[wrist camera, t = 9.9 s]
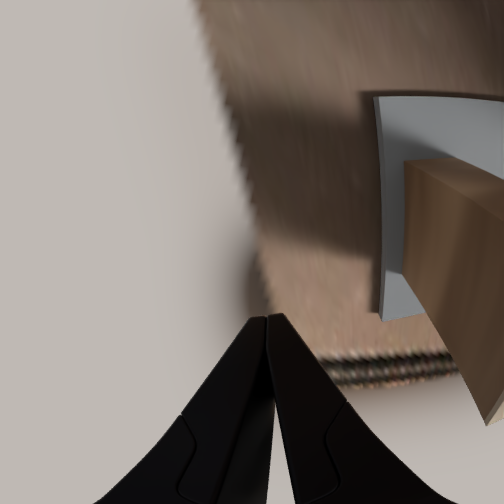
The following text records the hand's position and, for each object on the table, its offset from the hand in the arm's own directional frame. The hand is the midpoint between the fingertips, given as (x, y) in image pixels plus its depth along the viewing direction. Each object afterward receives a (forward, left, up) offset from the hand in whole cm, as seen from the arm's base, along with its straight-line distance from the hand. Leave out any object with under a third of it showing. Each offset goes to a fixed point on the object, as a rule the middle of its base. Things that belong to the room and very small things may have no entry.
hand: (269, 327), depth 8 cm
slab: (-7, 0, -5) cm, 8 cm away
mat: (-10, 0, -6) cm, 11 cm away
